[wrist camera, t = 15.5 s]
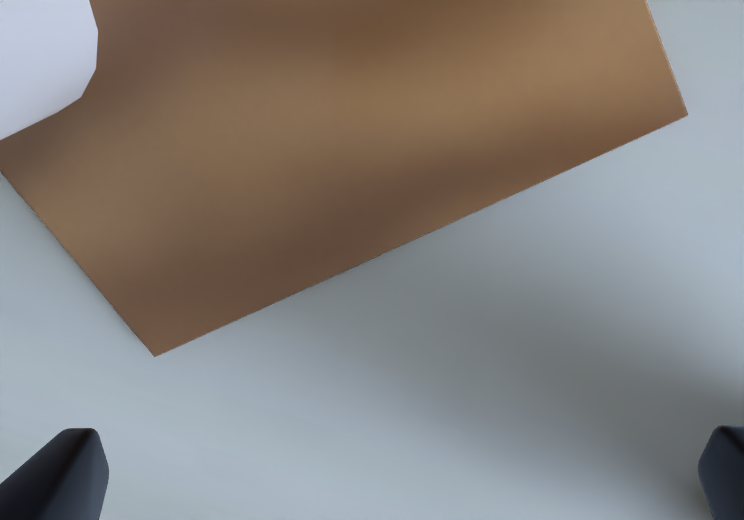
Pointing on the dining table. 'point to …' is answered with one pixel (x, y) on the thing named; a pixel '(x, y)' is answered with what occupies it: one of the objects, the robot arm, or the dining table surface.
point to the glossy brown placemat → (318, 137)
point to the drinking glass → (43, 58)
